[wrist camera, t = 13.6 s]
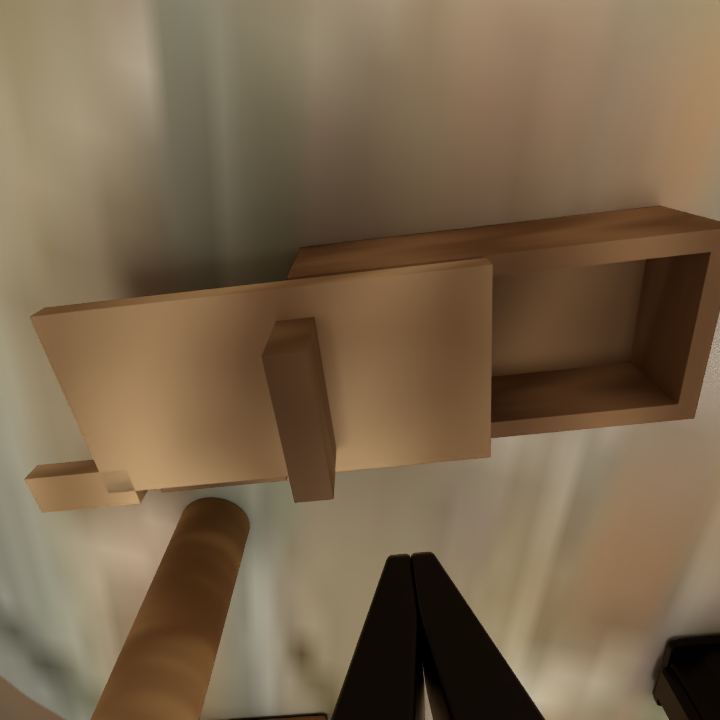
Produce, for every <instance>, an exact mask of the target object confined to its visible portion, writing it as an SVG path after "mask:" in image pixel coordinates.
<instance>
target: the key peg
mask: <svg viewBox="0 0 720 720" xmlns="http://www.w3.org/2000/svg"><path fill="white" fill-rule="evenodd" d="M249 528H250V524H249V520H248V517H247V516H246V514H245V513H244V511H243V510H242V509H241V508H239V507H238V506H237V505H235V504H233V503H231V502H229V501H226V500H223V499H218V498H204V499H200V500H197V501H194V502H193V503H191V504H190V505H188V506H187V507H186V508H185V510H184V511H183V514H182V516H181V518H180V520H179V523H178V525H177V527H176V529H175V531H174V534H173V536H172V538H171V540H170V543H169V545H168V547H167V549H166V552H165V554H164V556H163V558H162V561H161V563H160V565H159V567H158V570H157V572H156V574H155V576H154V579H153V581H152V583H151V585H150V588H149V590H148V592H147V594H146V597H145V599H144V601H143V603H142V606H141V608H140V610H139V612H138V614H137V617H136V619H135V621H134V623H133V626H132V628H131V630H130V632H129V635H128V637H127V639H126V641H125V644H124V646H123V648H122V650H121V653H120V655H119V657H118V659H117V662H116V664H115V666H114V668H113V671H112V673H111V675H110V677H109V680H108V682H107V684H106V686H105V689H104V691H103V693H102V695H101V698H100V700H99V702H98V704H97V706H96V709H95V711H94V713H93V715H92V718H91V720H199V719H200V715H201V711H202V708H203V704H204V700H205V696H206V692H207V689H208V685H209V681H210V677H211V673H212V670H213V666H214V662H215V658H216V654H217V651H218V647H219V643H220V639H221V635H222V632H223V628H224V624H225V620H226V616H227V613H228V609H229V605H230V601H231V597H232V594H233V590H234V586H235V582H236V578H237V575H238V571H239V567H240V563H241V559H242V556H243V552H244V548H245V544H246V540H247V537H248V533H249Z"/></svg>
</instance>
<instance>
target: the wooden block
mask: <svg viewBox="0 0 720 720" xmlns="http://www.w3.org/2000/svg"><path fill="white" fill-rule="evenodd" d="M261 720H327V718H326V716H323V715H321V716H306V717H291V718H276V719H261Z"/></svg>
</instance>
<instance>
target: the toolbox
mask: <svg viewBox="0 0 720 720" xmlns="http://www.w3.org/2000/svg"><path fill="white" fill-rule="evenodd" d="M481 258H486V259H487V260H488V261H489V262H490V263H491V264H492V265H493V272H492V364H491V438H497V437H508V436H518V435H528V434H538V433H549V432H559V431H569V430H580V429H590V428H600V427H611V426H621V425H631V424H642V423H652V422H662V421H673V420H683V419H693V418H694V417H695V413H696V409H697V404H698V400H699V396H700V392H701V387H702V383H703V379H704V375H705V370H706V366H707V362H708V358H709V354H710V349H711V345H712V341H713V337H714V332H715V328H716V324H717V320H718V315H719V311H720V221H716V220H712V219H709V218H705V217H701V216H697V215H693V214H690V213H686V212H682V211H678V210H674V209H671V208H667V207H663V206H654V207H646V208H637V209H628V210H620V211H611V212H603V213H594V214H585V215H577V216H568V217H559V218H551V219H542V220H533V221H525V222H516V223H507V224H499V225H490V226H481V227H473V228H464V229H456V230H447V231H438V232H430V233H421V234H412V235H404V236H395V237H386V238H378V239H369V240H360V241H352V242H343V243H334V244H326V245H317V246H309V247H301V248H300V250H299V252H298V254H297V256H296V259H295V261H294V263H293V265H292V268H291V270H290V272H289V274H288V276H287V280H295V279H304V278H313V277H322V276H330V275H339V274H348V273H357V272H366V271H375V270H384V269H392V268H401V267H410V266H419V265H428V264H437V263H446V262H454V261H463V260H472V259H481ZM286 480H287V477H277V478H266V479H256V480H245V481H235V482H224V483H214V484H203V485H193V486H182V487H172V488H161V492H170V491H180V490H191V489H202V488H212V487H223V486H233V485H244V484H254V483H265V482H275V481H286Z"/></svg>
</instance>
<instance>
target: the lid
mask: <svg viewBox="0 0 720 720" xmlns="http://www.w3.org/2000/svg"><path fill="white" fill-rule="evenodd" d="M492 272H493V265H492V264H491V263H490V262H489V261H488V260H487V259H486V258H481V259H472V260H463V261H454V262H446V263H437V264H428V265H419V266H410V267H401V268H392V269H384V270H375V271H366V272H357V273H348V274H339V275H330V276H322V277H313V278H304V279H295V280H286V281H277V282H268V283H259V284H251V285H242V286H233V287H224V288H215V289H206V290H197V291H189V292H180V293H171V294H162V295H153V296H144V297H135V298H127V299H118V300H109V301H100V302H91V303H82V304H73V305H65V306H56V307H47V308H44V309H42V310H40V311H38V312H37V313H35V314H33V315H32V316H30V319H31V321H32V324H33V326H34V328H35V330H36V332H37V335H38V337H39V339H40V341H41V344H42V346H43V348H44V350H45V352H46V355H47V357H48V359H49V361H50V364H51V366H52V368H53V370H54V373H55V375H56V377H57V379H58V381H59V384H60V386H61V388H62V390H63V393H64V395H65V397H66V399H67V401H68V404H69V406H70V408H71V410H72V413H73V415H74V417H75V419H76V421H77V424H78V426H79V428H80V430H81V433H82V435H83V437H84V439H85V441H86V444H87V446H88V448H89V450H90V453H91V455H92V457H93V459H94V460H86V461H76V462H66V463H55V464H45V465H37V466H36V467H35V468H34V469H33V471H32V472H31V473H30V474H29V475H28V476H27V477H26V478H25V479H24V480H25V482H26V484H27V486H28V487H29V489H30V491H31V493H32V495H33V497H34V498H35V500H36V502H37V504H38V506H39V508H40V510H41V511H42V513H43V512H53V511H64V510H75V509H85V508H96V507H107V506H117V505H128V504H138V503H141V501H142V500H143V498H144V496H145V494H146V493H147V491H148V490H151V489H161V488H172V487H182V486H193V485H203V484H214V483H224V482H235V481H245V480H256V479H266V478H277V477H287V476H289V480H290V485H291V489H292V493H293V498H294V502H295V503H297V502H308V501H319V500H329V499H334V483H335V472H339V471H350V470H360V469H371V468H381V467H392V466H402V465H413V464H423V463H434V462H444V461H455V460H465V459H476V458H486V457H491V364H492Z"/></svg>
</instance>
